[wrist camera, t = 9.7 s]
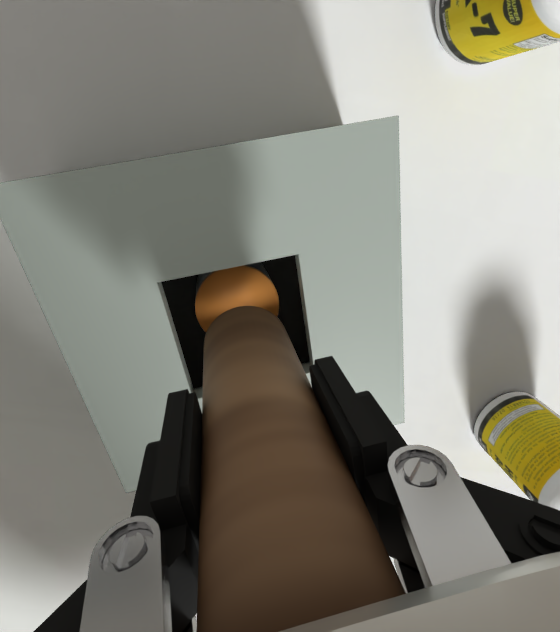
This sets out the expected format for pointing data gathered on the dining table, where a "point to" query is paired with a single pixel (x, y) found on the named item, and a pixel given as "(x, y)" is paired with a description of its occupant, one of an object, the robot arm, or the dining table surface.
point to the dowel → (276, 492)
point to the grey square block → (214, 262)
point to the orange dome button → (234, 292)
